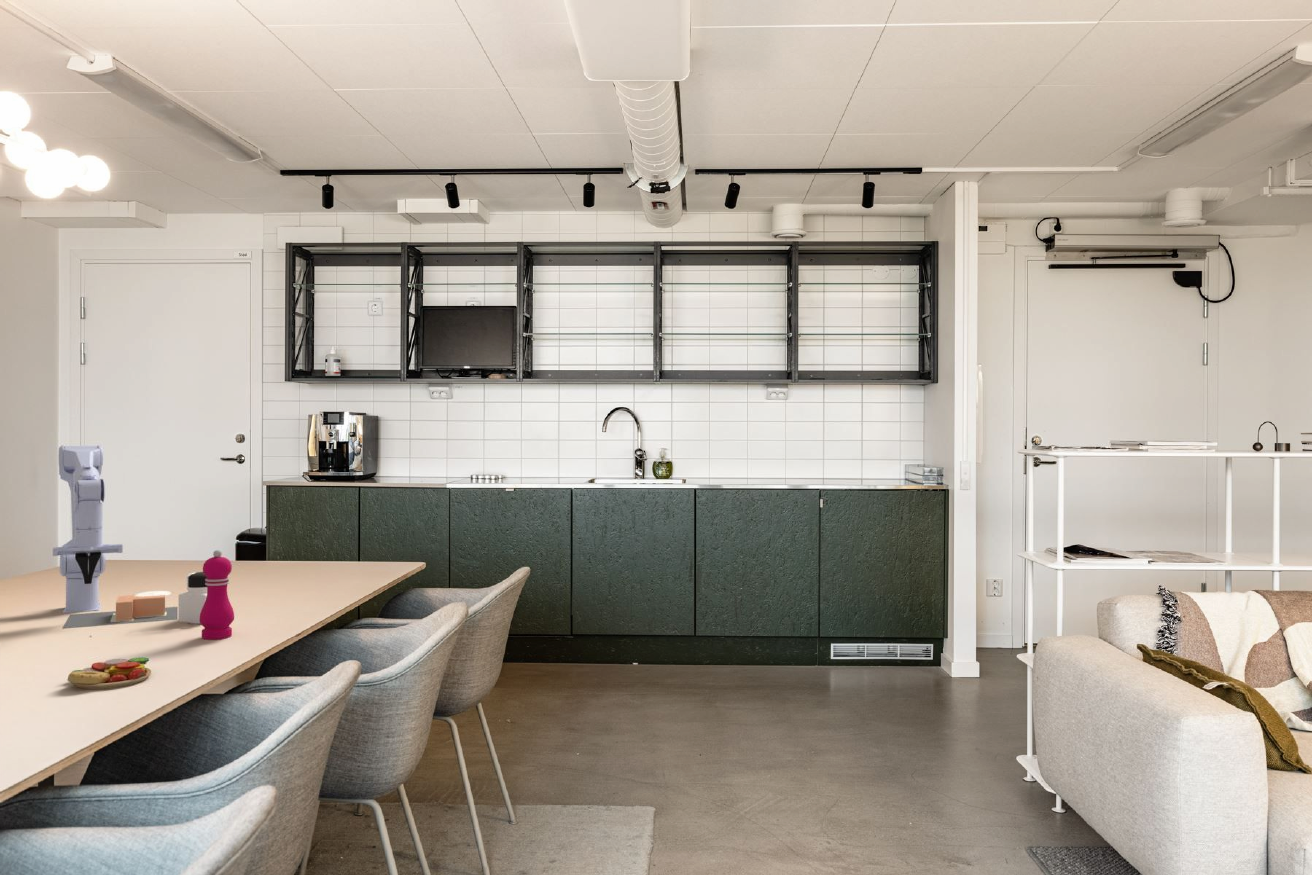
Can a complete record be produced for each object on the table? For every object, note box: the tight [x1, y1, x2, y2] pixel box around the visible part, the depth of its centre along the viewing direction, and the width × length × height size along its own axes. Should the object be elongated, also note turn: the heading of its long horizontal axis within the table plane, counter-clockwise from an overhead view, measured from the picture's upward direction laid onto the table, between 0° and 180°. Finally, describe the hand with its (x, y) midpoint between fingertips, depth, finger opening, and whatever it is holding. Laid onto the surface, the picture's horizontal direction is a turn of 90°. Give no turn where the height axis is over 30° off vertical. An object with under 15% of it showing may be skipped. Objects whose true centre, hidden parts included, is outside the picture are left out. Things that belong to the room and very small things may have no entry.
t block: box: [115, 594, 166, 621], centre depth 225 cm, size 10×10×4 cm
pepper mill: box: [199, 549, 235, 641], centre depth 205 cm, size 7×7×20 cm
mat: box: [61, 606, 179, 630], centre depth 224 cm, size 18×24×1 cm
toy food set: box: [67, 656, 153, 690], centre depth 169 cm, size 13×13×3 cm
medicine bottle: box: [177, 571, 207, 625], centre depth 222 cm, size 7×7×12 cm
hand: (88, 583), depth 220 cm, fingers closed
